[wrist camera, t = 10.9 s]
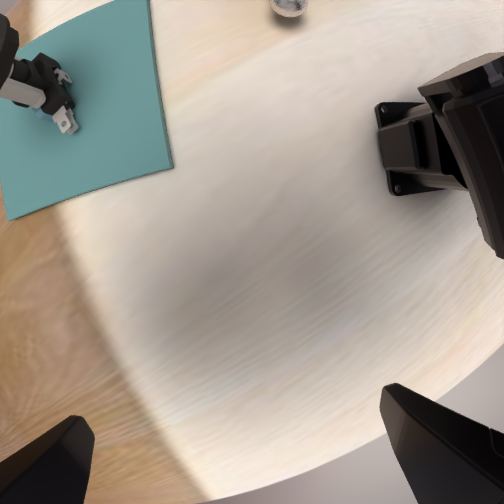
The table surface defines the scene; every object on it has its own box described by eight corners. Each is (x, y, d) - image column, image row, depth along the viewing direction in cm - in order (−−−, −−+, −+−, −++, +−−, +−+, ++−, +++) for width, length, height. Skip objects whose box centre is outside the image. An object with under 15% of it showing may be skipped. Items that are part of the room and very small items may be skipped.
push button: (107, 106, 16) (7, 60, 6) (51, 158, 16) (-60, 159, 6) (71, 45, 14) (-12, -10, 4) (21, 95, 14) (-72, 72, 5)
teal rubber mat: (148, -4, 14) (145, -11, 13) (173, 167, 18) (169, 167, 17) (4, 66, 14) (-2, 64, 13) (15, 219, 18) (7, 221, 17)
